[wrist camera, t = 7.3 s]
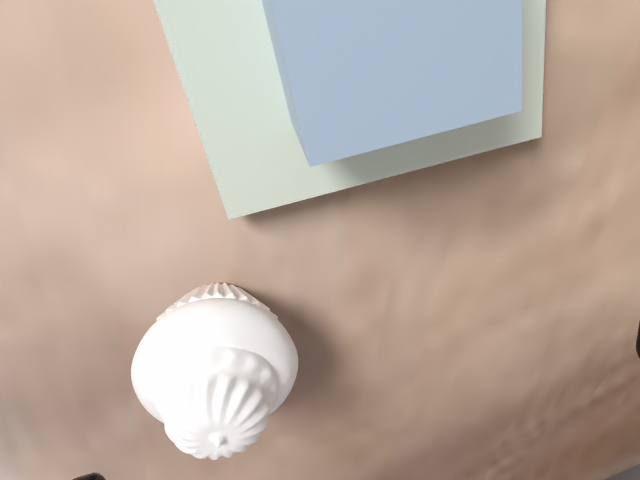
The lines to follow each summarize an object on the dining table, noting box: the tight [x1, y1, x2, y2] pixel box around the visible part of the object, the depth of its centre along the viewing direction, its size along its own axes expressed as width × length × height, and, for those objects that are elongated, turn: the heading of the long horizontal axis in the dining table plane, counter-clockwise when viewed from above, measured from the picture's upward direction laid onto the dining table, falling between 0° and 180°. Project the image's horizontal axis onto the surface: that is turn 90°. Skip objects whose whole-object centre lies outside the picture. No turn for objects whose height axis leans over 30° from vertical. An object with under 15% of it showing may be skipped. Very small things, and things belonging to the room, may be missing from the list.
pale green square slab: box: [153, 0, 546, 220], centre depth 16 cm, size 12×12×2 cm
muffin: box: [131, 282, 298, 460], centre depth 19 cm, size 6×6×7 cm
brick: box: [262, 0, 522, 167], centre depth 14 cm, size 6×6×4 cm
